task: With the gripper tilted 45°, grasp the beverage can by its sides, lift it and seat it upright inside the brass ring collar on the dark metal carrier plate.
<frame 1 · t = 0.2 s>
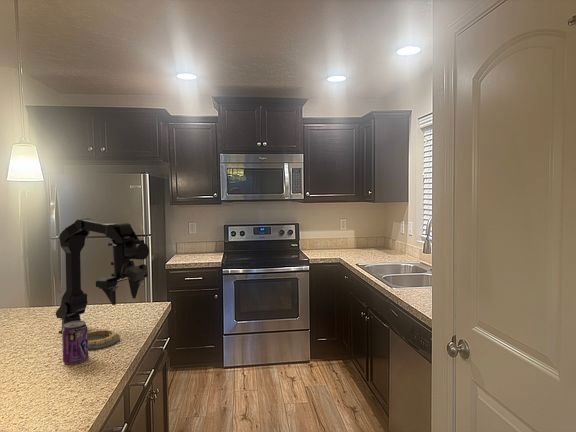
hand: (124, 301, 138), 15 cm above the countertop, tool pointing down, fingers open, 9 cm apart
beverage can: (76, 361, 123), on the countertop
carrier plate: (96, 342, 138), on the countertop
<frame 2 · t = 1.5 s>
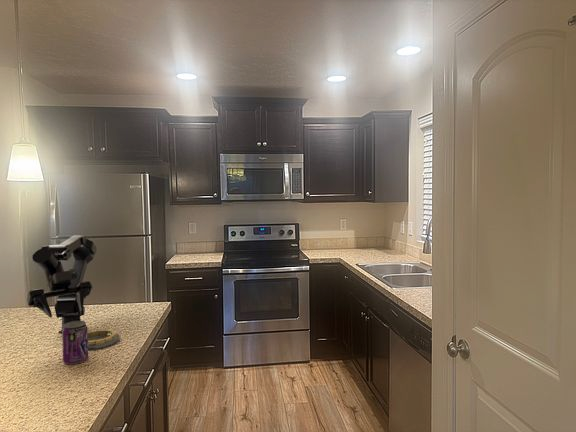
hand: (66, 313, 128), 13 cm above the countertop, tool tilted 45°, fingers open, 9 cm apart
nothing on the countertop moved.
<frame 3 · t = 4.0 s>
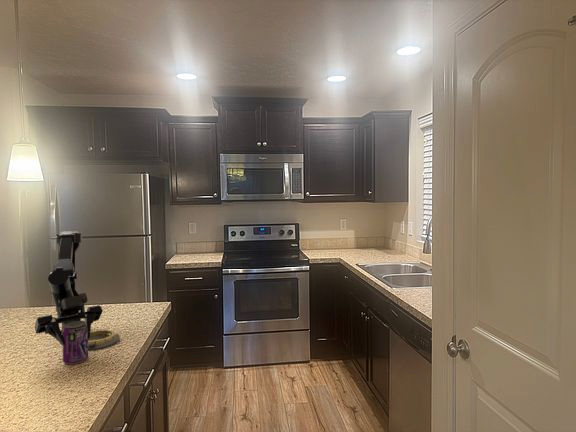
hand: (76, 341, 121), 7 cm above the countertop, tool tilted 45°, fingers closed on beverage can, 7 cm apart
beverage can: (76, 361, 123), on the countertop, touching gripper
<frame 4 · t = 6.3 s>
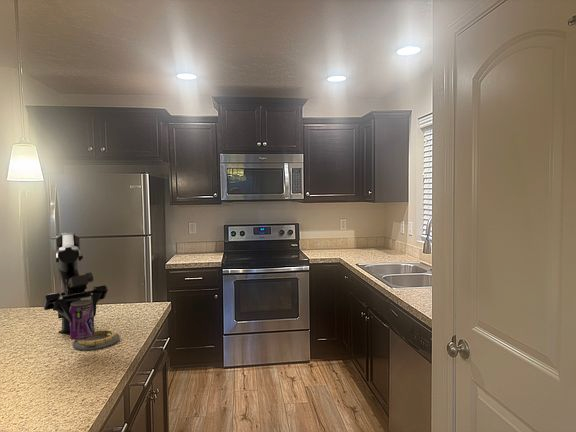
hand: (83, 318, 127), 12 cm above the countertop, tool tilted 45°, fingers closed on beverage can, 7 cm apart
beverage can: (82, 338, 128), point 5 cm above the countertop, touching gripper
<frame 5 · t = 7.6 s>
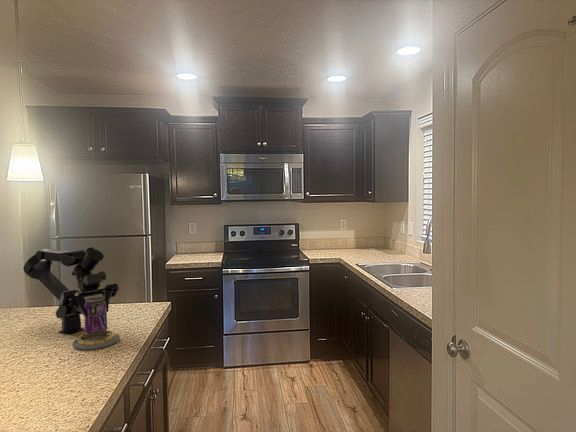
hand: (96, 313, 137), 11 cm above the countertop, tool tilted 45°, fingers closed on beverage can, 7 cm apart
beverage can: (96, 332, 138), point 3 cm above the countertop, touching gripper
when the fingers open (8 cm above the countertop, at t = 8.6 s): beverage can stays where it is, resting on carrier plate.
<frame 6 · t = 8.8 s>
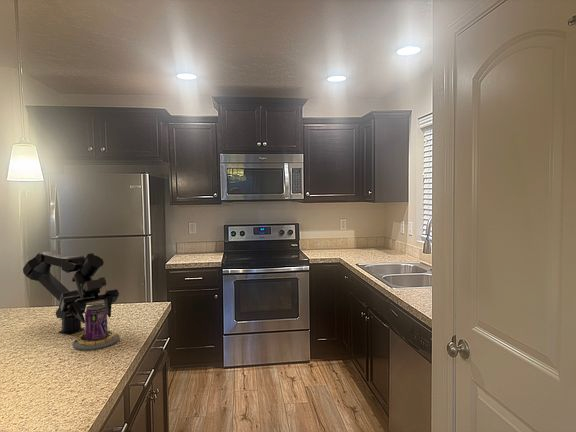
hand: (97, 319, 137), 9 cm above the countertop, tool tilted 45°, fingers open, 8 cm apart
beverage can: (96, 340, 138), point 1 cm above the countertop, touching carrier plate
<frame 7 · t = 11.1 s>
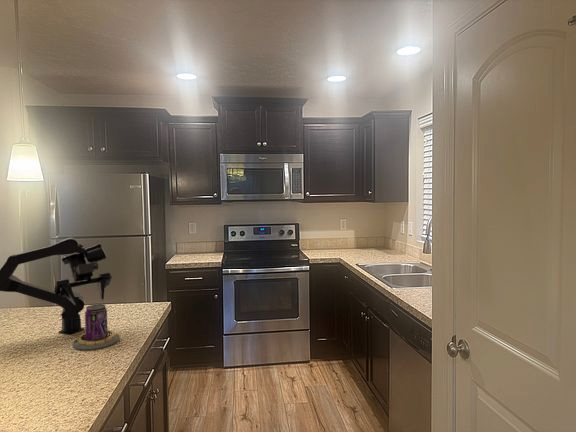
hand: (89, 301, 142), 14 cm above the countertop, tool tilted 45°, fingers open, 9 cm apart
nothing on the countertop moved.
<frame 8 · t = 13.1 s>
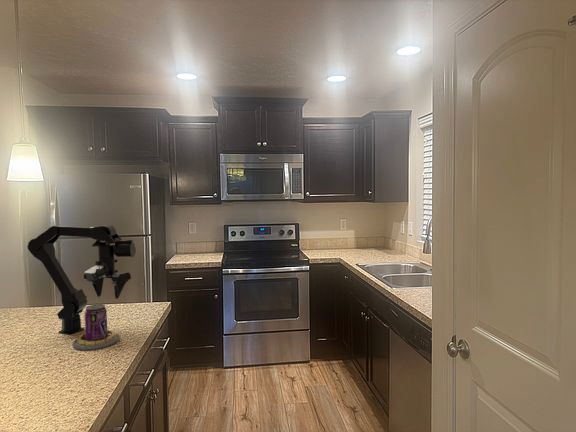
hand: (107, 297, 150), 13 cm above the countertop, tool pointing down, fingers open, 9 cm apart
nothing on the countertop moved.
at the end: beverage can 0.0 cm off-centre on the carrier plate, point 0.8 cm above the carrier plate's base; beverage can tilted 0°; the gripper is holding nothing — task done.
